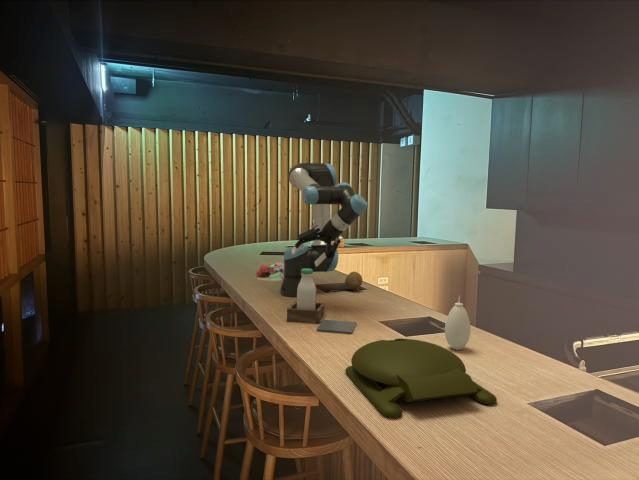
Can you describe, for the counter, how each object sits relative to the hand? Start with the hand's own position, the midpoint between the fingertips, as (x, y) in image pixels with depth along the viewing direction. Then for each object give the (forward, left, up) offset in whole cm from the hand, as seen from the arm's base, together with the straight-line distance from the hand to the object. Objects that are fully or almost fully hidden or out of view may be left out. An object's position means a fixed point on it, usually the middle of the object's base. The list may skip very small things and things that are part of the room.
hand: (304, 258), depth 198 cm
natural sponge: (-39, +17, -22) cm, 48 cm away
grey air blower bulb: (+39, +61, -22) cm, 75 cm away
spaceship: (+69, +46, -22) cm, 86 cm away
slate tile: (+26, +19, -21) cm, 38 cm away
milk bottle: (+17, +5, -22) cm, 28 cm away
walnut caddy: (+17, +5, -21) cm, 28 cm away
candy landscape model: (-64, -32, -22) cm, 74 cm away
